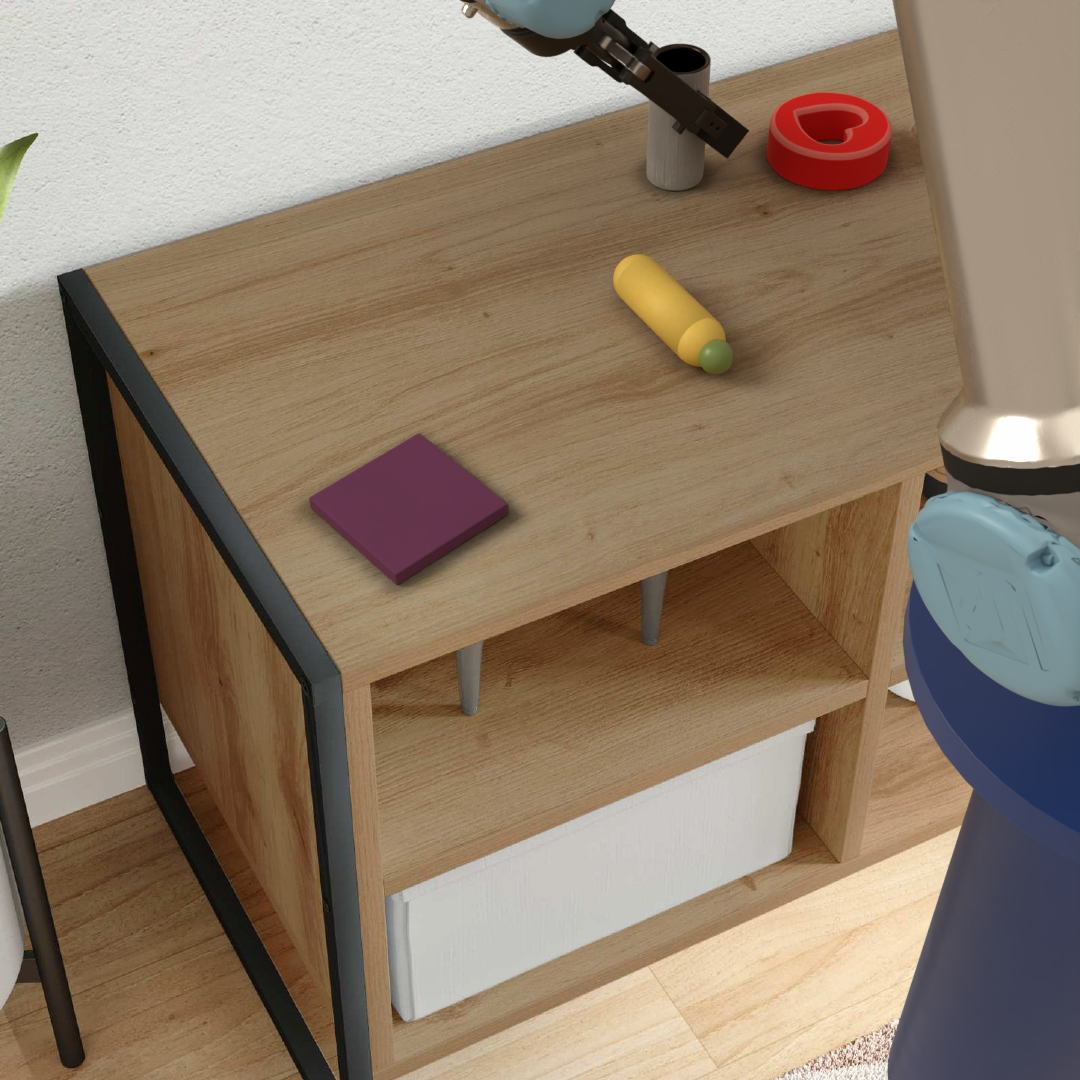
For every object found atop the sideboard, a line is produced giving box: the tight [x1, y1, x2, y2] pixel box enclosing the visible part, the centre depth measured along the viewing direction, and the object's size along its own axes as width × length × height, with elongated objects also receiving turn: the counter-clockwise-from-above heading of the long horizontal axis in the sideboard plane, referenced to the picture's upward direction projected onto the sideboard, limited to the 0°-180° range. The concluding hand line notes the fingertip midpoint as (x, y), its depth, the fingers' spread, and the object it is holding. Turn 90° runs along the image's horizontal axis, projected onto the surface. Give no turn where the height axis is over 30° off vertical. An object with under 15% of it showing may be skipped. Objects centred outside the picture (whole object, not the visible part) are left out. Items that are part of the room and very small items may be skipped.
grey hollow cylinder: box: [645, 43, 712, 192], centre depth 122 cm, size 4×4×10 cm
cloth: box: [308, 432, 509, 586], centre depth 100 cm, size 9×9×1 cm
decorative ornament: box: [766, 91, 893, 191], centre depth 126 cm, size 10×10×3 cm
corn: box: [612, 253, 734, 375], centre depth 111 cm, size 13×4×4 cm, turn 30°
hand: (716, 126), depth 125 cm, fingers closed on grey hollow cylinder, 5 cm apart
